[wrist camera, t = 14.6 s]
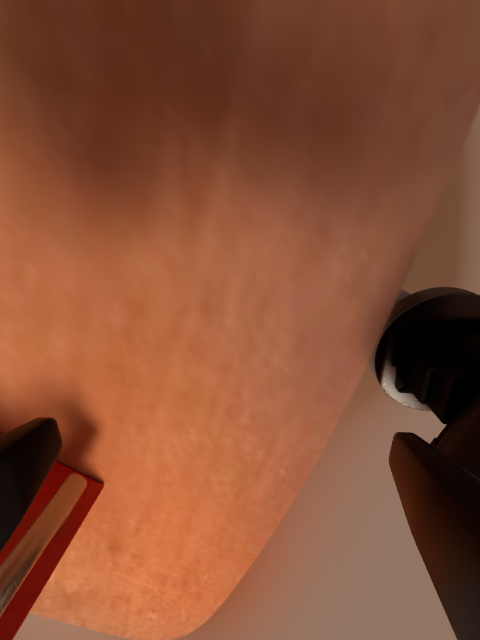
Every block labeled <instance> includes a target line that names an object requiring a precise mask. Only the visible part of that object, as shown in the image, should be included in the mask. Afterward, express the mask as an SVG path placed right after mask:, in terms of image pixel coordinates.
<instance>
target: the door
mask: <svg viewBox="0 0 480 640" xmlns="http://www.w3.org/2000/svg"><path fill="white" fill-rule="evenodd" d="M0 435H2V434H0ZM103 487H104V485H102V484H100V483H98V482H96V481H94V480H92V479H90V478H88V477H86V476H84V475H82V474H80V473H78V472H76V471H74V470H72V469H70V468H68V467H66V466H64V465H62V464H60V463H58V462H56V461H55V462H54V464H53V466H52V468H51V469H50V471H49V473H48V475H47V477H46V479H45V481H44V482H43V484H42V486H41V488H40V490H39V492H38V494H37V495H36V497H35V499H34V501H33V503H32V504H31V506H30V508H29V510H28V511H27V513H26V514H25V516H24V518H23V519H22V521H21V522H20V524H19V525H18V527H17V528H16V530H15V532H14V533H13V535H12V536H11V538H10V539H9V541H8V542H7V544H6V545H5V547H4V548H3V550H2V552H1V553H0V640H13V638H14V637H15V635H16V633H17V632H18V630H19V628H20V626H21V625H22V623H23V621H24V620H25V618H26V617H27V615H28V613H29V611H30V610H31V608H32V606H33V605H34V603H35V601H36V600H37V598H38V596H39V595H40V593H41V591H42V590H43V588H44V586H45V585H46V583H47V581H48V580H49V578H50V576H51V575H52V573H53V571H54V569H55V568H56V566H57V564H58V563H59V561H60V559H61V558H62V556H63V554H64V553H65V551H66V549H67V548H68V546H69V544H70V543H71V541H72V539H73V538H74V536H75V534H76V533H77V531H78V529H79V527H80V526H81V524H82V522H83V521H84V519H85V517H86V516H87V514H88V512H89V511H90V509H91V507H92V506H93V504H94V502H95V501H96V499H97V497H98V496H99V494H100V492H101V490H102V489H103Z"/></svg>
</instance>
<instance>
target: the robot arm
mask: <svg viewBox="0 0 480 640" xmlns="http://www.w3.org/2000/svg"><path fill="white" fill-rule="evenodd" d="M417 322H418V325H417V326H416V327H414V326H413V325H414V324H415V323H417ZM396 374H397V377H396V382H395V388H396V390H397V391H398V392H399V393H410V394H414V396H415V397H416V398H417V399H418V401H419V402H420V403H422V404H427V406H428V407H429V408H430V409H431V410H432V411H433V413H434V414H435V415H436V416H437V417H438V418H439V420H440V421H441V422H442V423H443V424H447V425H446V426H445V428H444V429H443V430H442V432H441V433H440V434H439V436H438V437H437V438H434V439H433V441H432V442H431V443H430V444H429V443H427V442H426V441H424V440H423V439H422V438H420V437H419V436H417V435H416V434H414V433H406V432H397V433H396V434H395V435H394V437H393V441H392V446H391V450H390V455H389V465H390V468H391V472H392V475H393V478H394V481H395V484H396V487H397V490H398V493H399V496H400V499H401V502H402V506H403V509H404V512H405V515H406V518H407V521H408V524H409V527H410V529H411V533H412V535H413V537H414V540H415V542H416V545H417V547H418V550H419V552H420V554H421V556H422V559H423V561H424V563H425V566H426V568H427V570H428V573H429V575H430V577H431V580H432V582H433V584H434V587H435V589H436V591H437V594H438V596H439V598H440V601H441V603H442V605H443V607H444V610H445V612H446V615H447V617H448V619H449V622H450V624H451V626H452V628H453V631H454V633H455V635H456V638H457V640H480V319H457V318H412V319H410V320H409V322H408V325H407V329H406V334H405V339H404V343H403V344H402V345H401V347H400V352H399V357H398V362H397V367H396ZM402 385H404V387H402V388H400V387H401V386H402ZM61 448H62V438H61V435H60V431H59V428H58V424H57V421H56V420H55V419H54V418H45V417H40V418H36V419H34V420H32V421H30V422H27V423H25V424H23V425H21V426H19V427H17V428H15V429H13V430H11V431H9V432H7V433H5V434H2V435H0V553H1V552H2V550H3V548H4V547H5V545H6V544H7V542H8V541H9V539H10V538H11V536H12V535H13V533H14V532H15V530H16V528H17V527H18V525H19V524H20V522H21V521H22V519H23V518H24V516H25V514H26V513H27V511H28V510H29V508H30V506H31V504H32V503H33V501H34V499H35V497H36V495H37V494H38V492H39V490H40V488H41V486H42V484H43V482H44V481H45V479H46V477H47V475H48V473H49V471H50V469H51V468H52V466H53V464H54V462H55V460H56V458H57V456H58V455H59V453H60V451H61Z"/></svg>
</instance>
